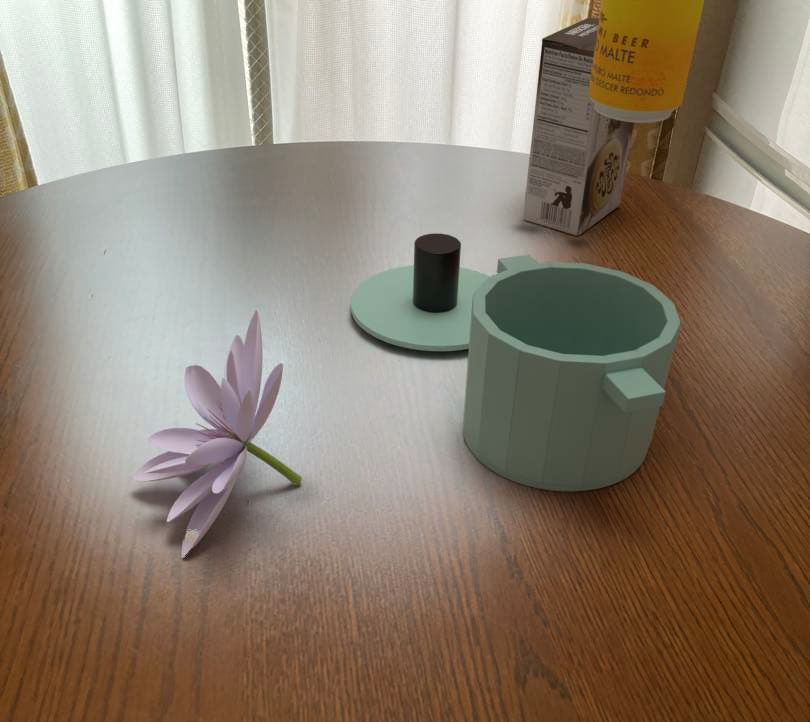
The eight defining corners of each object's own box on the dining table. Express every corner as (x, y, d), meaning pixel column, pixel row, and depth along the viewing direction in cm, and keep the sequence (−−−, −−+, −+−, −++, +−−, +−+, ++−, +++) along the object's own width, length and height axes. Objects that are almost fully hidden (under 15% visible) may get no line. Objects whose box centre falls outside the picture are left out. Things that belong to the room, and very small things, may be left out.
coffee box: (564, 191, 95) (588, 15, 84) (621, 207, 92) (654, 27, 81) (519, 220, 89) (539, 35, 78) (578, 237, 87) (607, 49, 76)
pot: (576, 353, 71) (596, 235, 65) (706, 495, 59) (747, 366, 52) (423, 380, 68) (428, 258, 61) (526, 536, 55) (546, 403, 49)
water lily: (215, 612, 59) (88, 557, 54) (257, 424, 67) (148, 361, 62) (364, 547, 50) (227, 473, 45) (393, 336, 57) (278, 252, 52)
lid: (479, 267, 82) (484, 199, 77) (546, 342, 72) (556, 270, 68) (331, 288, 78) (328, 218, 74) (381, 370, 69) (381, 295, 65)
